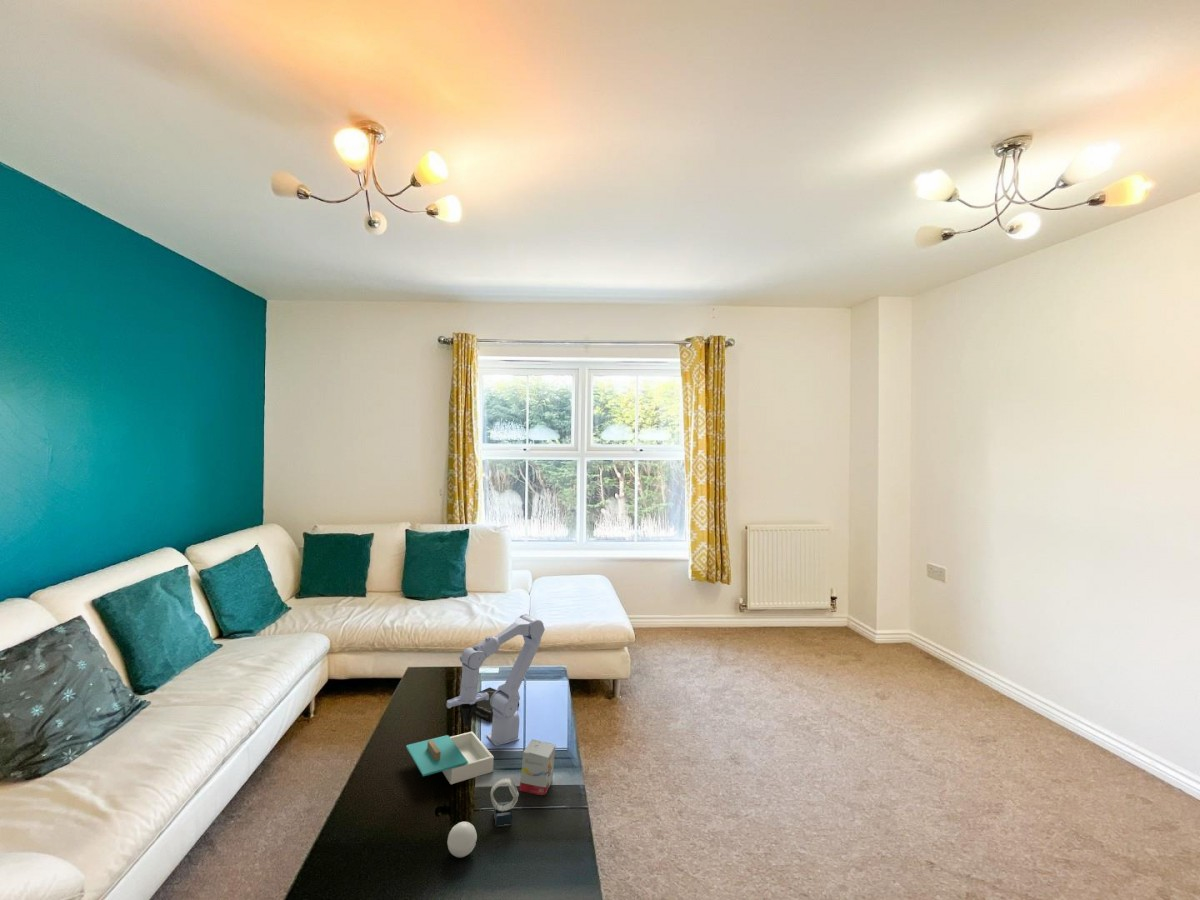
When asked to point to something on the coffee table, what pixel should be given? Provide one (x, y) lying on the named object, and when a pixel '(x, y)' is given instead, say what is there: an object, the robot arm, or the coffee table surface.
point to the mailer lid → (436, 755)
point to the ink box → (537, 767)
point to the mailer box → (470, 758)
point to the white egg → (462, 839)
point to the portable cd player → (485, 706)
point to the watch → (504, 803)
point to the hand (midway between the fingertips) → (465, 724)
